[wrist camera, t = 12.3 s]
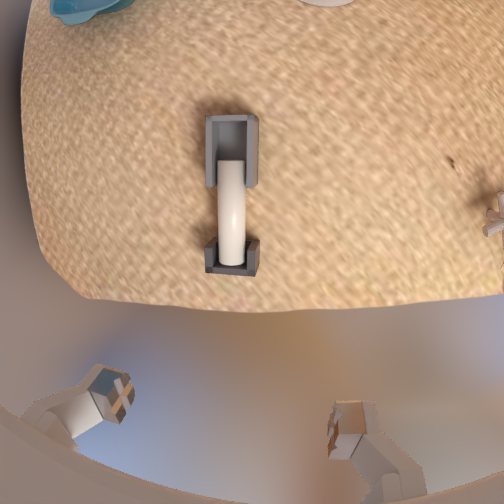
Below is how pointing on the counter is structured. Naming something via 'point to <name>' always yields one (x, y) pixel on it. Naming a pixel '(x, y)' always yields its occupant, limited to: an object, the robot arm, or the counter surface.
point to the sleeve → (232, 145)
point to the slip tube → (231, 211)
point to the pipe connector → (496, 218)
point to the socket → (243, 269)
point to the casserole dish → (84, 9)
